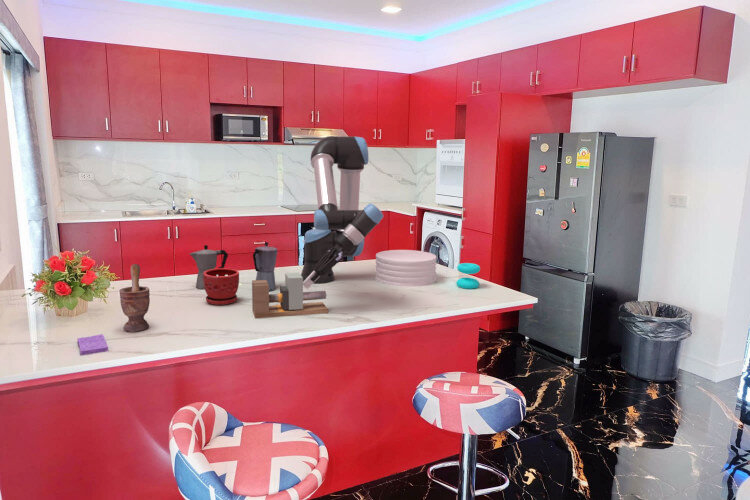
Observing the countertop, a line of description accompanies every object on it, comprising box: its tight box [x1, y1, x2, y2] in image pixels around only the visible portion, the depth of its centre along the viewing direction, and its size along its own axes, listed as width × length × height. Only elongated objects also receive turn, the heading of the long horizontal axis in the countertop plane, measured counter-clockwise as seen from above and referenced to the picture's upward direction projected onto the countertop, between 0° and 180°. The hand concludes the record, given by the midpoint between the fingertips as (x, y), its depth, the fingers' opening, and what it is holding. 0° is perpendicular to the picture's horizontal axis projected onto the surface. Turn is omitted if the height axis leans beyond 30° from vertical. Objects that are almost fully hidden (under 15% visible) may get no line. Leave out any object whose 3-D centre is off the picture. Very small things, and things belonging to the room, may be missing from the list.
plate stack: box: [375, 249, 437, 287], centre depth 242 cm, size 28×28×12 cm
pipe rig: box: [251, 279, 329, 319], centre depth 188 cm, size 9×26×12 cm, turn 108°
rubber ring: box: [279, 285, 289, 310], centre depth 187 cm, size 7×2×7 cm, turn 18°
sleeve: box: [284, 272, 304, 310], centre depth 188 cm, size 8×5×12 cm, turn 18°
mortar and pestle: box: [119, 263, 151, 333], centre depth 167 cm, size 12×9×20 cm
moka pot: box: [252, 241, 279, 292], centre depth 217 cm, size 10×15×20 cm, turn 161°
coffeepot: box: [189, 244, 229, 290], centre depth 220 cm, size 15×9×18 cm, turn 113°
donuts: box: [455, 262, 481, 290], centre depth 231 cm, size 10×10×10 cm
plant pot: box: [203, 267, 240, 306], centre depth 198 cm, size 13×13×12 cm
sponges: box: [76, 333, 109, 356], centre depth 152 cm, size 7×13×2 cm, turn 33°
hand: (304, 286), depth 188 cm, fingers closed
